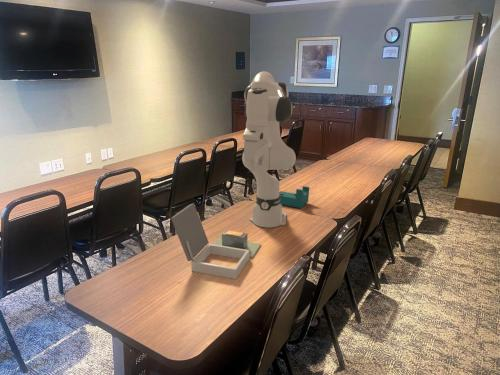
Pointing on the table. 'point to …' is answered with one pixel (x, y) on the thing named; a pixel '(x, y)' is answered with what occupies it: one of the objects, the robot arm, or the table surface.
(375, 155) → the table surface
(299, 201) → the teal l-shaped bracket
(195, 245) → the case lid
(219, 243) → the sage mat
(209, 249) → the equipment case
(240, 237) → the module
